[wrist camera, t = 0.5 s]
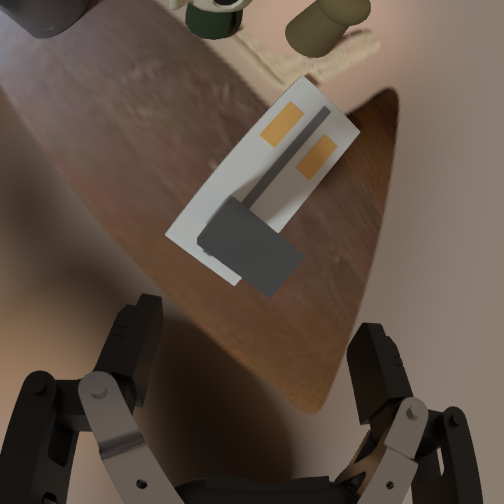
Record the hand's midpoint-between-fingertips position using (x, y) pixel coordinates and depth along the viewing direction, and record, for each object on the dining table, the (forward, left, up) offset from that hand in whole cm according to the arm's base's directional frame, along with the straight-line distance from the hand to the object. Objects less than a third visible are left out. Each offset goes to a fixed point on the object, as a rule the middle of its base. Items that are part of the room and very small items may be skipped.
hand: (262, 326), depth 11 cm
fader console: (-5, +6, -21) cm, 22 cm away
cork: (-21, +14, -21) cm, 33 cm away
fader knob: (-1, +1, -19) cm, 19 cm away
